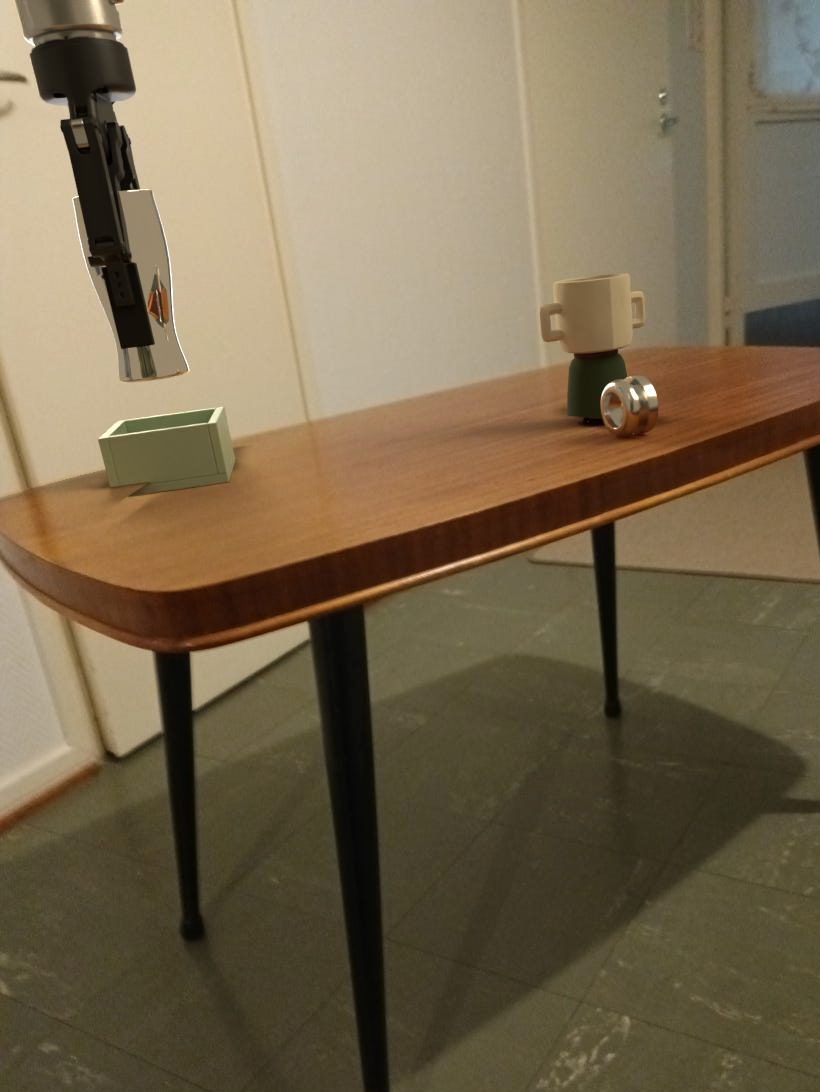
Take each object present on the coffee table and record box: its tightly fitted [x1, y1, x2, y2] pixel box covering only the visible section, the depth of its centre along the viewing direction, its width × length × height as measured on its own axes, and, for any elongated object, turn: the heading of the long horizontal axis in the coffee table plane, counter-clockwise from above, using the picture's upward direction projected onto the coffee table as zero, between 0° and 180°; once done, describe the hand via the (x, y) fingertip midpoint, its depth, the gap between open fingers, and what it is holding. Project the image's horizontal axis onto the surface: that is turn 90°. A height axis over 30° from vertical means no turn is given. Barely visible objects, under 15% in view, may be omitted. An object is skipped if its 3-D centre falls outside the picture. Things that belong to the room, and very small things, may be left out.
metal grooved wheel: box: [600, 374, 659, 438], centre depth 86 cm, size 5×3×5 cm, turn 27°
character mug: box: [539, 273, 647, 423], centre depth 93 cm, size 11×7×13 cm, turn 112°
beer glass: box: [71, 189, 190, 384], centre depth 85 cm, size 7×7×15 cm
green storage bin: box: [97, 406, 236, 498], centre depth 90 cm, size 10×10×5 cm
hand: (146, 342), depth 87 cm, fingers closed on beer glass, 7 cm apart
